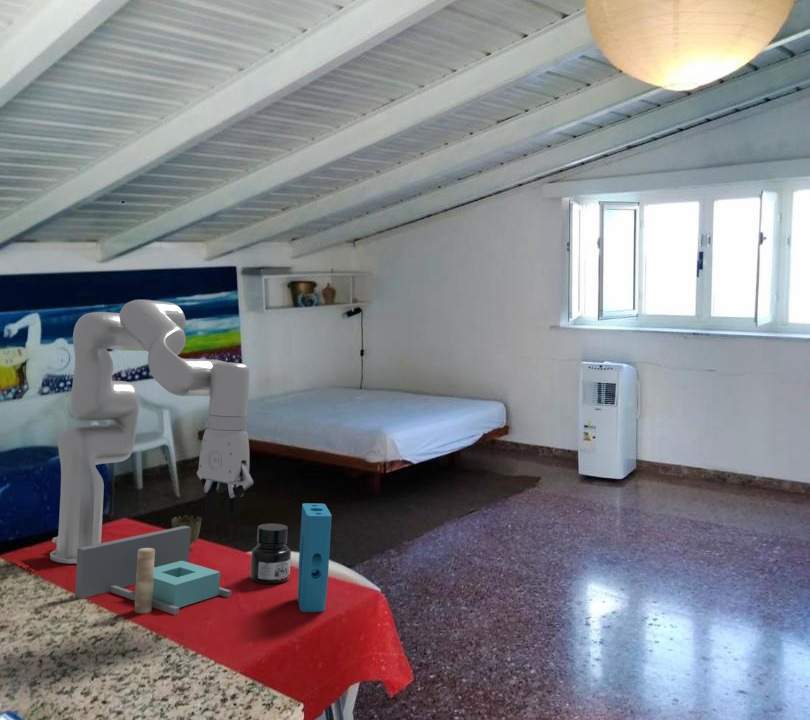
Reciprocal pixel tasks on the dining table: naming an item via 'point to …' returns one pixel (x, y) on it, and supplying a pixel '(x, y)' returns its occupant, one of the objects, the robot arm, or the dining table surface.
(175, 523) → the cup
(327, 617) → the dining table surface
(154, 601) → the backstop wall
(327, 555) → the block
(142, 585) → the dowel
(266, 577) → the ink bottle
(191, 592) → the socket block
